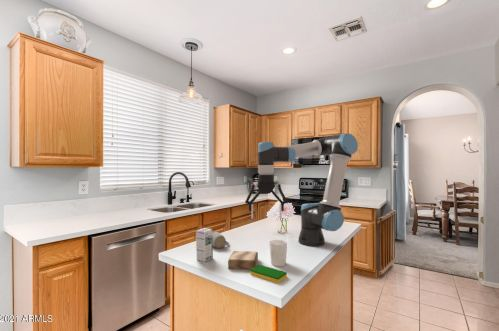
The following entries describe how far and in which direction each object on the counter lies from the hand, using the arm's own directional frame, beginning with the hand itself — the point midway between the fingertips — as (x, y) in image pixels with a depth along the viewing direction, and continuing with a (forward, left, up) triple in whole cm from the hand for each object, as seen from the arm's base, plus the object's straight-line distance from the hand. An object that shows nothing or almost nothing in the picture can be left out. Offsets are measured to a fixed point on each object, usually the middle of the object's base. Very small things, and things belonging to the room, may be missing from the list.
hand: (266, 218), depth 119 cm
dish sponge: (-2, +17, -21) cm, 27 cm away
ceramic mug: (+28, -18, -20) cm, 39 cm away
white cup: (-6, +4, -20) cm, 22 cm away
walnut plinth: (+10, +6, -20) cm, 23 cm away
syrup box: (+30, +2, -20) cm, 37 cm away
